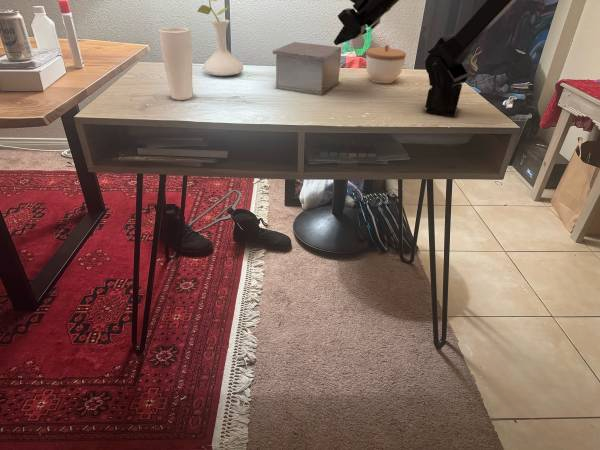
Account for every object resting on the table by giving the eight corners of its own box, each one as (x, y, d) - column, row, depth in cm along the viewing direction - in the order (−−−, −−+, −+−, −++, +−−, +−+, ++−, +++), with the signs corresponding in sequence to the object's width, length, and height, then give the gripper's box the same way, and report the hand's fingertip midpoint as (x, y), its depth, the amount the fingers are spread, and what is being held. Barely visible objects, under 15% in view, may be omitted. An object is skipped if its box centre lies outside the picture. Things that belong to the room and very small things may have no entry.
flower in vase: (251, 72, 124) (248, -28, 110) (228, 81, 115) (221, -26, 102) (215, 66, 129) (207, -31, 115) (190, 74, 120) (179, -29, 107)
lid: (272, 54, 107) (272, 50, 107) (294, 45, 118) (294, 41, 117) (323, 60, 103) (323, 56, 103) (341, 50, 114) (341, 47, 113)
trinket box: (402, 87, 116) (408, 50, 111) (362, 84, 117) (366, 47, 112) (400, 77, 125) (406, 42, 120) (363, 74, 126) (367, 40, 121)
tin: (276, 88, 111) (276, 54, 107) (296, 76, 122) (297, 45, 117) (321, 95, 108) (323, 60, 103) (338, 82, 118) (341, 50, 114)
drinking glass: (181, 91, 106) (174, 25, 98) (202, 96, 103) (196, 29, 95) (161, 98, 101) (151, 29, 93) (182, 103, 98) (174, 33, 90)
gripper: (373, -35, 103) (327, 12, 113) (350, -34, 89) (300, 21, 98) (401, 4, 105) (353, 47, 114) (383, 12, 90) (330, 61, 100)
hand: (335, 43), depth 107 cm, fingers closed
